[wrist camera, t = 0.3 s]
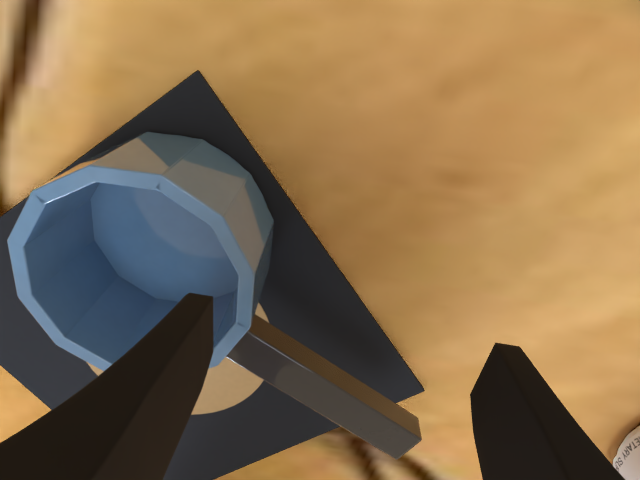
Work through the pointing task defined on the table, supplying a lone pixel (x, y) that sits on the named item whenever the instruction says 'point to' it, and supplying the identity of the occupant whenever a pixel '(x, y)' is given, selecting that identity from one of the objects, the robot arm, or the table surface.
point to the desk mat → (274, 307)
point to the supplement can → (629, 456)
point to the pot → (175, 272)
